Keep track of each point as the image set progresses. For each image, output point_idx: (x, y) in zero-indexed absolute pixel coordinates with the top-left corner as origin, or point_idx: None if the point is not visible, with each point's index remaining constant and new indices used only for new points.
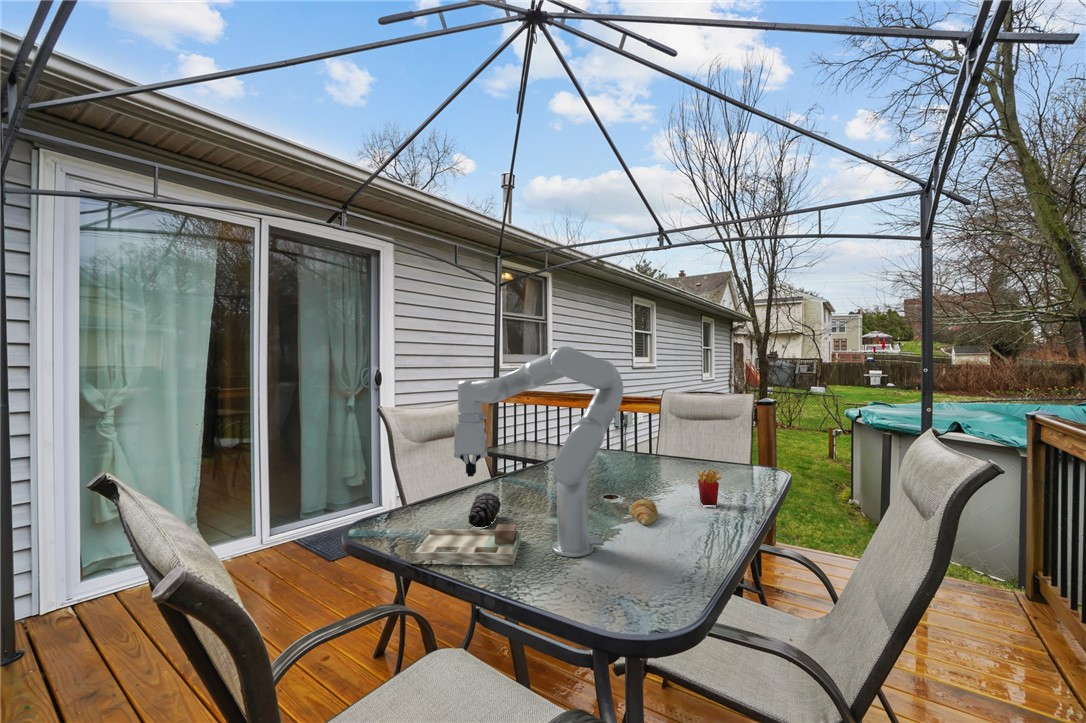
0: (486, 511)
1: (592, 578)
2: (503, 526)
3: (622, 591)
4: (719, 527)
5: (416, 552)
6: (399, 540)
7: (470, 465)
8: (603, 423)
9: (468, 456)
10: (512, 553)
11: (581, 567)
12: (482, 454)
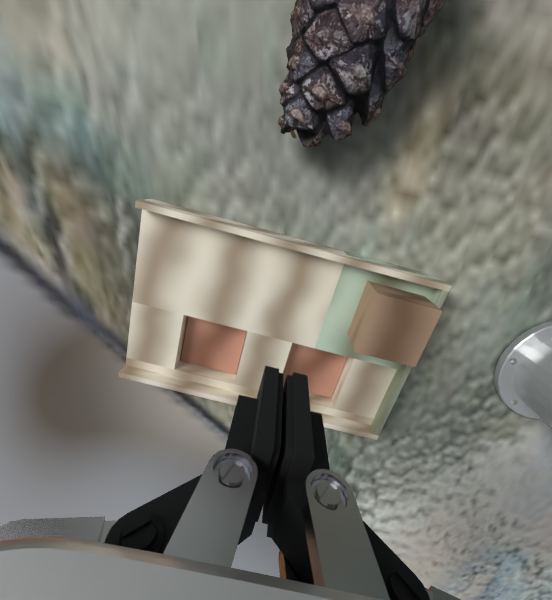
0: (364, 105)
1: (506, 495)
2: (393, 321)
3: (529, 539)
4: None
5: (134, 379)
6: (51, 179)
7: (265, 520)
8: None
9: (229, 550)
10: (376, 437)
11: (512, 454)
12: None
